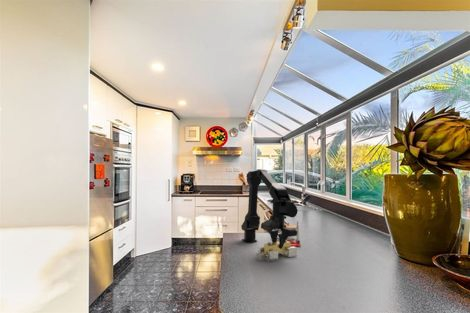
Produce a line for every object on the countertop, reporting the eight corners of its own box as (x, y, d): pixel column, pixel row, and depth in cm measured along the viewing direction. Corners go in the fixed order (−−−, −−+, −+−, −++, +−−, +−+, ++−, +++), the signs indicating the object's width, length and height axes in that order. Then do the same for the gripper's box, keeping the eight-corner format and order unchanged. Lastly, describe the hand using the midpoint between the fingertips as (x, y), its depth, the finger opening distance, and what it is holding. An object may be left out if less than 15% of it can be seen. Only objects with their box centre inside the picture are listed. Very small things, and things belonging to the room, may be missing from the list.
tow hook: (284, 247, 127) (301, 247, 126) (283, 222, 128) (300, 222, 128) (281, 243, 135) (297, 243, 135) (281, 220, 136) (297, 220, 136)
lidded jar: (287, 235, 151) (288, 220, 152) (300, 239, 142) (300, 224, 143) (275, 237, 145) (275, 222, 146) (287, 241, 136) (288, 225, 137)
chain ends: (252, 257, 107) (253, 248, 108) (288, 250, 120) (288, 242, 120) (264, 263, 101) (264, 253, 101) (300, 254, 114) (300, 246, 114)
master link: (263, 252, 108) (264, 242, 108) (285, 248, 116) (285, 239, 116) (268, 255, 105) (269, 244, 106) (290, 250, 113) (290, 240, 113)
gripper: (253, 211, 115) (251, 244, 114) (280, 218, 100) (279, 256, 99) (269, 210, 122) (268, 241, 120) (298, 216, 106) (297, 252, 105)
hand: (277, 247), depth 111 cm, fingers open, 4 cm apart
